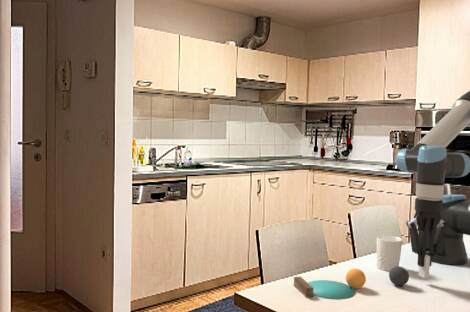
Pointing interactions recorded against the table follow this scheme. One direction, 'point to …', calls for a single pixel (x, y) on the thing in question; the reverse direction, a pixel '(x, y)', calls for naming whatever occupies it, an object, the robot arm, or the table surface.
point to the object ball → (355, 278)
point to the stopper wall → (303, 286)
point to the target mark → (331, 289)
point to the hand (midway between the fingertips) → (423, 276)
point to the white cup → (388, 252)
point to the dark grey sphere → (399, 276)
